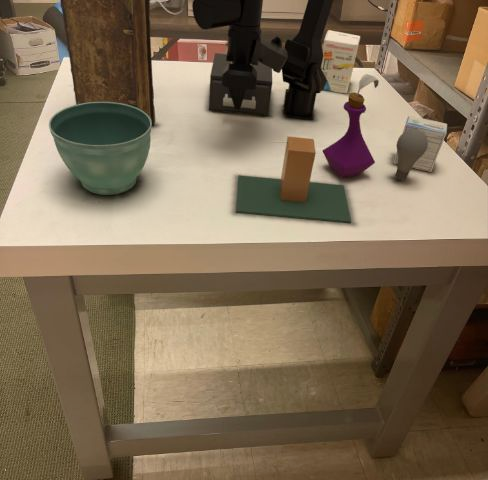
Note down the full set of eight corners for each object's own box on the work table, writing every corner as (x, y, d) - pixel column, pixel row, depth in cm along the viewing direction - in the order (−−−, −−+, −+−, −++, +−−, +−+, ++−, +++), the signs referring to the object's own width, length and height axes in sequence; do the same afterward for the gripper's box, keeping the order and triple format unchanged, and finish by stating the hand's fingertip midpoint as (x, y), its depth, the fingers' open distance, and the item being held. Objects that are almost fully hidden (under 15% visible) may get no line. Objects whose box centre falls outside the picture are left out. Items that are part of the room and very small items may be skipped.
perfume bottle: (340, 184, 94) (365, 86, 81) (318, 165, 99) (339, 70, 86) (371, 177, 97) (399, 82, 84) (348, 160, 101) (372, 66, 89)
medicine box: (432, 163, 104) (448, 123, 97) (430, 173, 101) (447, 132, 94) (395, 155, 105) (408, 114, 99) (392, 164, 102) (406, 123, 96)
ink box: (314, 88, 127) (323, 38, 119) (318, 77, 133) (327, 28, 125) (347, 94, 127) (359, 44, 118) (349, 82, 133) (360, 34, 124)
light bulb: (414, 189, 95) (432, 139, 88) (385, 183, 96) (401, 134, 89) (413, 175, 99) (431, 127, 92) (386, 170, 100) (401, 121, 93)
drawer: (266, 122, 108) (269, 95, 104) (209, 116, 108) (211, 89, 104) (265, 91, 121) (268, 66, 117) (215, 86, 120) (216, 60, 116)
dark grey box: (268, 116, 113) (272, 81, 108) (209, 110, 112) (210, 75, 107) (267, 91, 123) (271, 58, 118) (213, 86, 123) (215, 52, 117)
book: (73, 114, 105) (50, -27, 87) (95, 104, 109) (78, -33, 91) (137, 137, 100) (127, -7, 82) (157, 125, 105) (152, -14, 87)
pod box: (303, 188, 91) (313, 138, 84) (305, 202, 88) (315, 152, 81) (279, 185, 91) (287, 136, 84) (280, 200, 88) (288, 149, 81)
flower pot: (52, 205, 81) (39, 142, 73) (69, 157, 92) (58, 98, 84) (152, 208, 83) (149, 147, 75) (156, 161, 94) (153, 103, 86)
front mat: (343, 187, 94) (343, 185, 93) (350, 223, 85) (351, 221, 85) (238, 177, 93) (238, 175, 92) (235, 212, 84) (236, 210, 84)
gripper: (290, 43, 83) (276, 132, 95) (287, 14, 97) (276, 95, 108) (224, 35, 83) (219, 126, 94) (231, 7, 96) (225, 90, 107)
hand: (237, 108), depth 101 cm, fingers closed
